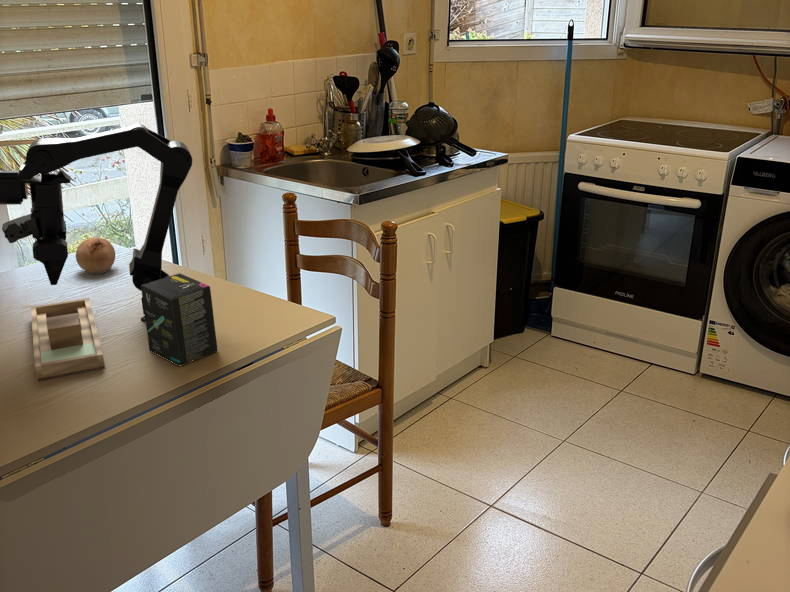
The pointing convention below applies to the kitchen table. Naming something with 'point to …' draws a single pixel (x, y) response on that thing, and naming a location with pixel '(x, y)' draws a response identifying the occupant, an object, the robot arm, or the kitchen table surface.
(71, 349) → the sage pad
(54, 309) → the oak tray
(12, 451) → the kitchen table surface
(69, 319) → the walnut block
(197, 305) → the tampon box
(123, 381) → the kitchen table surface
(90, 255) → the onion
